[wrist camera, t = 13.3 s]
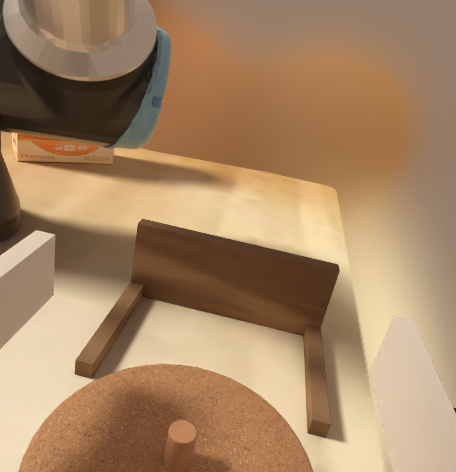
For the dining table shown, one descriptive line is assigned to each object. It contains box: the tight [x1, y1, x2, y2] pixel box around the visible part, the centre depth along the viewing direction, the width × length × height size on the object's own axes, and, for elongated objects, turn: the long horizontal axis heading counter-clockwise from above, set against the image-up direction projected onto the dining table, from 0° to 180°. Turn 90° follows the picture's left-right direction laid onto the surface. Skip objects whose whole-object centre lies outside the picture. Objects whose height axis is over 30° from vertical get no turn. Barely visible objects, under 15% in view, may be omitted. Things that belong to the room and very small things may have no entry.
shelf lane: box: [75, 219, 339, 437], centre depth 33 cm, size 12×17×7 cm
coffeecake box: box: [12, 133, 114, 164], centre depth 68 cm, size 15×7×20 cm, turn 120°
